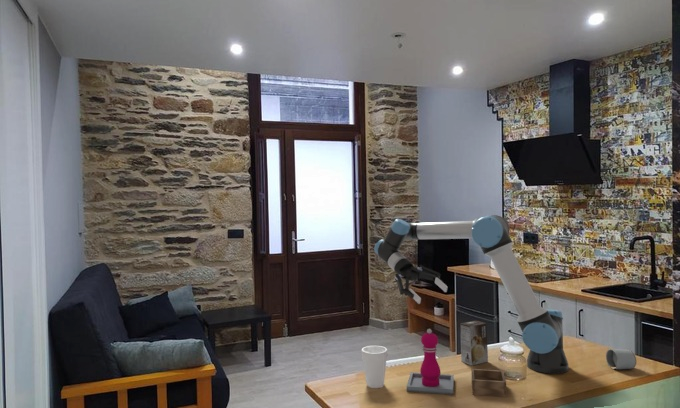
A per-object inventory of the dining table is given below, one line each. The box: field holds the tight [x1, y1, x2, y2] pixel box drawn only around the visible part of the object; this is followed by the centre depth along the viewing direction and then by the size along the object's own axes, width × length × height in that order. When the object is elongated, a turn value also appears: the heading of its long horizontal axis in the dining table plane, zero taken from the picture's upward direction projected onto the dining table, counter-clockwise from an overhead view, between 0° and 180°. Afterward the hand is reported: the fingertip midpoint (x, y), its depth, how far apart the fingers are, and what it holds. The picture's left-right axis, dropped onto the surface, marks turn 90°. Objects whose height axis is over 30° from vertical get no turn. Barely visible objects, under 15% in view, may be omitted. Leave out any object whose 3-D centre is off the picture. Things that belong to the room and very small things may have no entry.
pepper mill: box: [419, 328, 442, 387], centre depth 171 cm, size 7×7×20 cm
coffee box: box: [459, 320, 489, 367], centre depth 194 cm, size 9×6×16 cm
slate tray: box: [406, 372, 455, 396], centre depth 171 cm, size 16×14×2 cm
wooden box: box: [471, 368, 507, 398], centre depth 166 cm, size 11×11×5 cm
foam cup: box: [361, 345, 388, 389], centre depth 172 cm, size 10×9×13 cm
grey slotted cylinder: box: [605, 348, 637, 370], centre depth 184 cm, size 11×8×8 cm
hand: (433, 295), depth 184 cm, fingers open, 13 cm apart
